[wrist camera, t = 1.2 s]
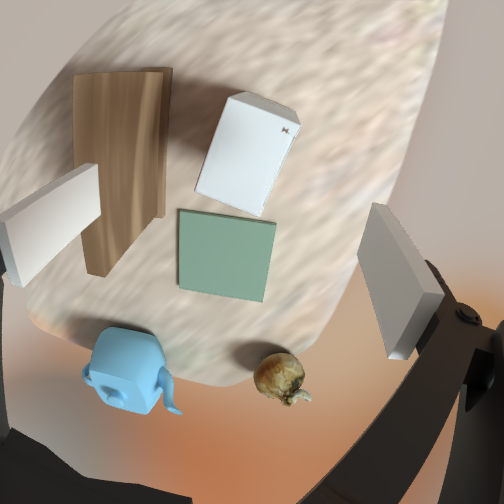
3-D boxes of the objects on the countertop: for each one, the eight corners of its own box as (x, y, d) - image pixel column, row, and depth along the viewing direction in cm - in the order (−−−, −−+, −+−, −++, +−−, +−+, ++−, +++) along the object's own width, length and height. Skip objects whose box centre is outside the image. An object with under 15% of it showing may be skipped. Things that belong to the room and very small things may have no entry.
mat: (180, 285, 42) (179, 288, 41) (181, 209, 36) (179, 211, 35) (262, 299, 41) (262, 302, 41) (276, 223, 36) (276, 225, 35)
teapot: (199, 382, 52) (185, 436, 42) (108, 363, 53) (85, 409, 43) (195, 334, 46) (175, 395, 36) (92, 315, 47) (60, 364, 37)
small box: (245, 90, 29) (227, 93, 20) (297, 111, 29) (303, 123, 20) (217, 159, 33) (191, 192, 24) (266, 179, 33) (259, 219, 24)
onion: (292, 336, 44) (292, 380, 37) (312, 367, 48) (314, 409, 41) (246, 350, 47) (240, 393, 40) (270, 379, 50) (267, 419, 43)
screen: (142, 211, 37) (82, 277, 25) (146, 68, 28) (67, 68, 16) (165, 214, 37) (112, 283, 24) (172, 68, 28) (102, 64, 16)
